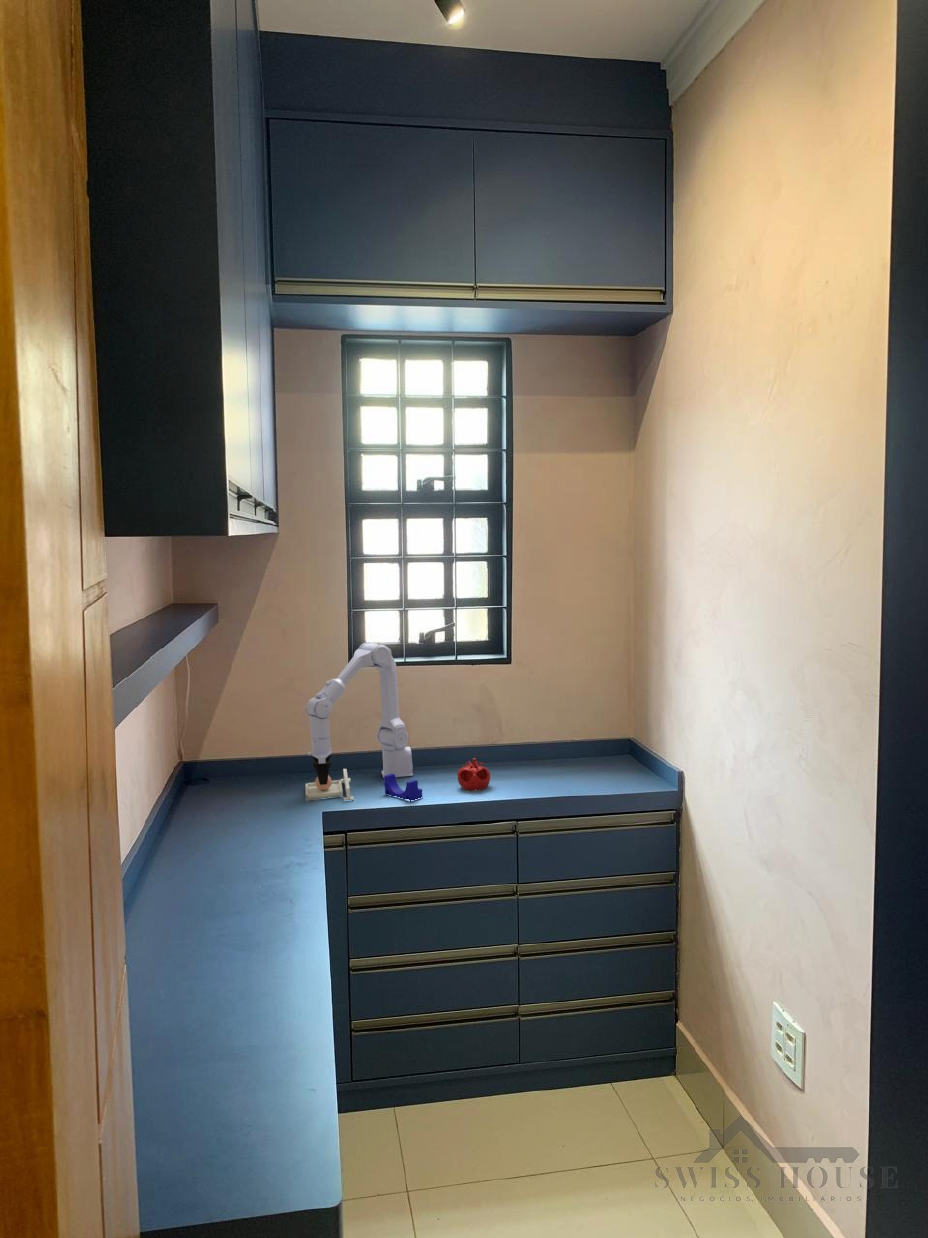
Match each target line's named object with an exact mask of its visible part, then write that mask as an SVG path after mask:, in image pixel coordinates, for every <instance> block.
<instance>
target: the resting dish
mask: <svg viewBox="0 0 928 1238" xmlns="http://www.w3.org/2000/svg"><path fill="white" fill-rule="evenodd" d="M340 796H343V797H344V792H343V783H341V779H338V780H336V779H335V780H332V784H331V786H330V788H329V789H327V790H320V789H318V788H317V787H316V784H315V781H314V782H306V783H305V802H309V801H308V800H314V799H321V798H328V797H340ZM314 801H315V800H314Z"/></svg>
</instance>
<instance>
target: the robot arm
mask: <svg viewBox="0 0 928 1238" xmlns="http://www.w3.org/2000/svg"><path fill="white" fill-rule="evenodd" d="M369 667H374V668H375V669H376V670H378V672H379V682H380V698H381V714H382V718H381V720H380V721H379V722H378V730H377V733H376V738H377V741H378V743H379V744H380V745H381V750H382V766H383V770H381V775H382V778H383V779H384V776H385V775H388V774H395V778H403V777H404V778H405V777H411V776H414V773H413V771H414V770H413V767H414V765H413V759H412V758H413V756H412V755H413V754H412V748H411V746H407V744H408V742H409V734H408V732H407V729H406V725H405V723H404V722H403V720H401V718H400V703H399V688H398V686H399V685H398V684H399V683H398V673H397V672H398V671H397V670H398V669H397V663H396V661H395V659H394V657H393V655H392V649H391V648H389V647H388V646H387V645H385V644H376V643H370V642H363V643H362V644H360V646H359V647H358V648H357V649H356V650H355V651H354V653H353V656H352V657H351V659H350V661H349V662H348V663H347V664H346V666H345V667H344V668H343V670H341V672H340V673H339V675H337V677H336V678H331V679H329V680H327V681H326V682H325V685H324V687H323V688H322V689H321V690H320V691H319V692H317V693H316V694H315V697H311V698H310V699H308V701H307V703H306V707H304V711H305V712H306V715H308V718H309V730H310V741H311V742H310V744H311V751H308V752H307V755H308V756H312V759H313V762H312V766H313V768H314V769H315V771H316V775H317V777H318V779H319V783H320V785H323V784H327V782H328V775H329V773H330V772H329V771H330V769H331V765H332V760H330V758H331V755H332V752H333V751H332V747H331V733H330V719H329V718H330V717H329V716H330V715H331V714H332V712H333V707H334V705H335V704H336V702H338V700H339V699H340V698H341V697H342V695H344V693H345V692H346V685H347V684H349V683H350V681H351V680H352V679H353V678H354V677H356V675H357V674H358V673H359V672H360V671H361V670H362V669H363V668H369Z"/></svg>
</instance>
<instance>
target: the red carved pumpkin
mask: <svg viewBox="0 0 928 1238" xmlns="http://www.w3.org/2000/svg"><path fill="white" fill-rule="evenodd" d="M482 765H485V762H479V760H478V761H477V758H476V757H473V758H472V762H471V761H470V760H469V761H466V763H464V764H462V765H461V766H463V767H461V768H459V769H458V771H457V774H456V776H457V781H458V784H459V786H460V787H461V788H462V789H464V790H465V791H470V792H473V791H482V790H484V789H486V788H488V786H489V785H490V782H491V772H490V770H489V769H488V768H487V767H485V766H482Z"/></svg>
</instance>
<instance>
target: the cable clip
mask: <svg viewBox="0 0 928 1238" xmlns="http://www.w3.org/2000/svg"><path fill="white" fill-rule="evenodd" d="M396 778H397V777H395V774H388V775H385V776H384V778H383V779H384V783H383V784H384V795H385V794H389V795H391V796H390V797H392V796H397V797H400V798H403V799H409V800H410V801H411V800H415V799H418V798H421V797H422V798H423V789H422V788H419V783H418V780H417V779H412V780H408V781H406V782H405V783H406V785H405V789H404V790H403V789H402V788H401V787H400V786H399V784H398V781H397V779H396Z"/></svg>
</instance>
